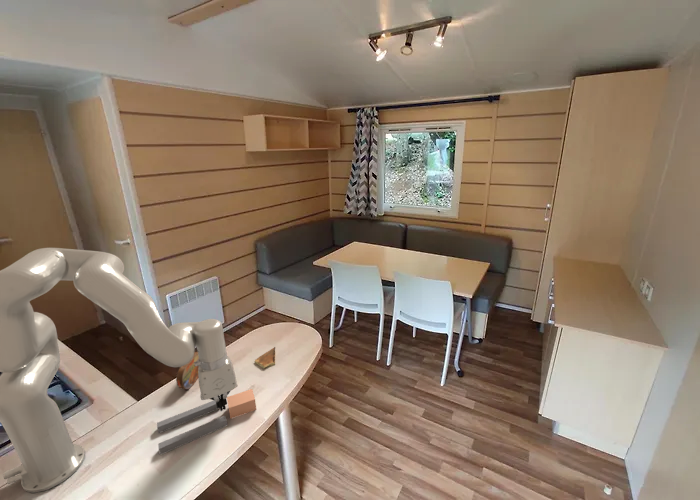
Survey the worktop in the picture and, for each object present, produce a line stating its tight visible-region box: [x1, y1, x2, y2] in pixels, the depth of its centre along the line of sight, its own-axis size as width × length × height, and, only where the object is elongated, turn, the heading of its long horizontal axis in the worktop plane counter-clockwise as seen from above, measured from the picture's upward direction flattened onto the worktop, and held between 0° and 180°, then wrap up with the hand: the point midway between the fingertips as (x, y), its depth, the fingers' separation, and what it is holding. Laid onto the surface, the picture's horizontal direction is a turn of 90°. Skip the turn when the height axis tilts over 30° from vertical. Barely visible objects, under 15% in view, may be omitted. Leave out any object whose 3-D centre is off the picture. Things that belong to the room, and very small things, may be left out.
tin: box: [175, 351, 199, 390], centre depth 115 cm, size 15×3×8 cm, turn 175°
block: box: [226, 388, 257, 420], centre depth 103 cm, size 8×5×4 cm, turn 116°
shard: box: [253, 346, 276, 369], centre depth 127 cm, size 11×8×2 cm
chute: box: [156, 400, 228, 456], centre depth 97 cm, size 18×10×2 cm, turn 122°
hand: (222, 407), depth 101 cm, fingers closed
